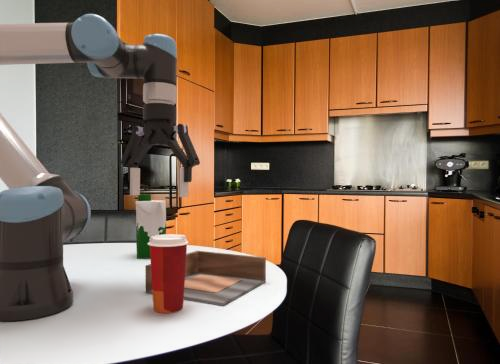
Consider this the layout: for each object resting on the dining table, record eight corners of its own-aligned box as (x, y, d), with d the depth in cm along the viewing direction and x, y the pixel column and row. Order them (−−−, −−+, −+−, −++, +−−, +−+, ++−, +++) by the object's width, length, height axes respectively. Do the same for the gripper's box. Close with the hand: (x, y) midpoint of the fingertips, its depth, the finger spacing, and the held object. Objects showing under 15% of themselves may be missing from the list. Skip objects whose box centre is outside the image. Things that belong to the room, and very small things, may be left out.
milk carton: (141, 253, 132) (141, 193, 132) (168, 253, 132) (168, 193, 132) (133, 259, 123) (132, 194, 123) (162, 259, 123) (161, 195, 123)
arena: (223, 306, 78) (223, 275, 78) (145, 292, 87) (145, 265, 87) (265, 282, 96) (265, 257, 96) (197, 273, 105) (197, 250, 105)
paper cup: (192, 302, 80) (192, 233, 80) (182, 315, 73) (182, 239, 72) (155, 301, 81) (155, 233, 81) (141, 314, 73) (141, 239, 73)
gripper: (215, 104, 90) (213, 197, 91) (127, 110, 100) (126, 193, 100) (198, 98, 83) (197, 198, 84) (106, 104, 93) (105, 194, 93)
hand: (158, 196), depth 92 cm, fingers open, 13 cm apart
